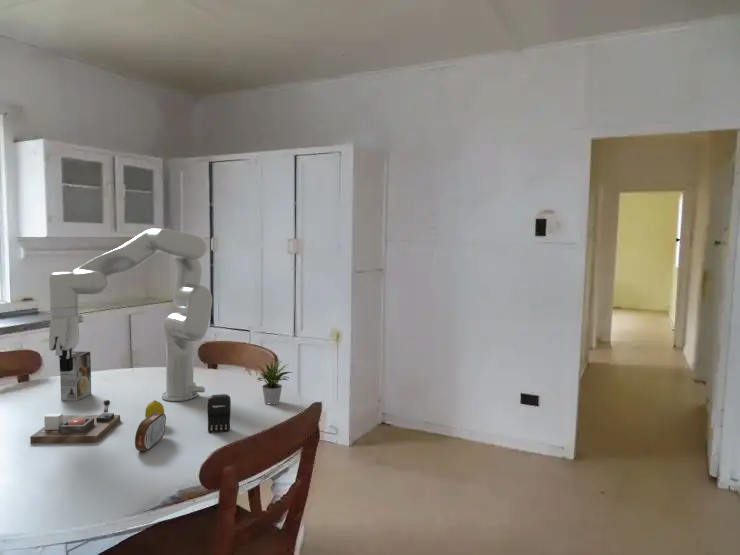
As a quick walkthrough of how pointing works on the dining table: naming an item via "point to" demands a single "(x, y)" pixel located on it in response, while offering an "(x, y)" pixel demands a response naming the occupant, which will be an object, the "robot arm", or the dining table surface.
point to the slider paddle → (53, 421)
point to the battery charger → (219, 412)
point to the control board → (78, 430)
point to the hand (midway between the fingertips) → (66, 370)
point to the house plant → (272, 382)
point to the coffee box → (77, 378)
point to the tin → (150, 431)
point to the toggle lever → (106, 406)
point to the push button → (77, 421)
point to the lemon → (154, 408)
